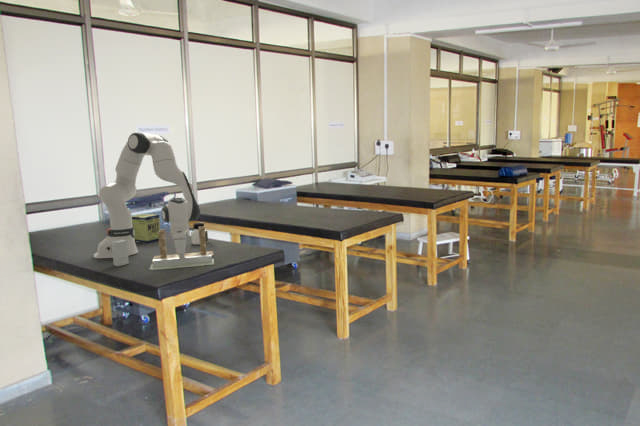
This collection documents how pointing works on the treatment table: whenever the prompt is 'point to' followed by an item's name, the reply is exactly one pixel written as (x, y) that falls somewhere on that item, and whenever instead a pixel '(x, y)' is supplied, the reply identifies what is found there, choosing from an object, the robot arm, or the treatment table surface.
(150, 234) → the protein box
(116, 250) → the skincare box
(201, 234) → the hook rack
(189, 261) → the aluminium rail
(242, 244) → the treatment table surface
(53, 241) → the treatment table surface
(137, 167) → the robot arm
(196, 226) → the medicine bottle
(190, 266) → the sage mat
